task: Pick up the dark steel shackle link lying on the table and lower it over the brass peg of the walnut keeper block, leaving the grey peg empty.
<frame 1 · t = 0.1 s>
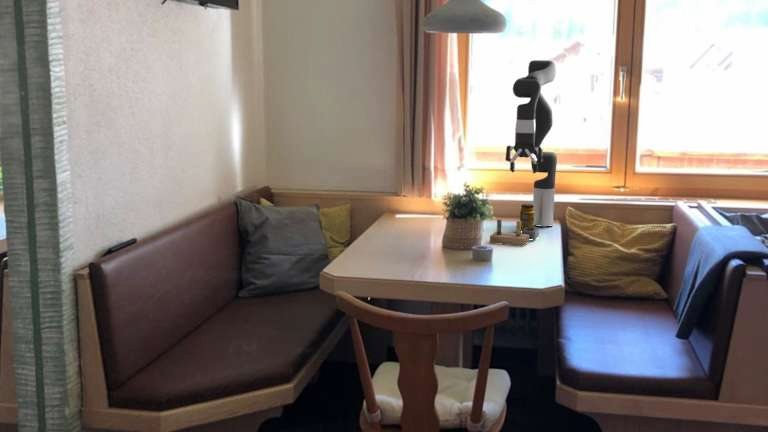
hand: (523, 172, 315), 29 cm above the table, tool pointing down, fingers open, 8 cm apart
link: (530, 238, 333), on the table
condiment: (524, 232, 346), on the table
keeper: (509, 242, 325), on the table
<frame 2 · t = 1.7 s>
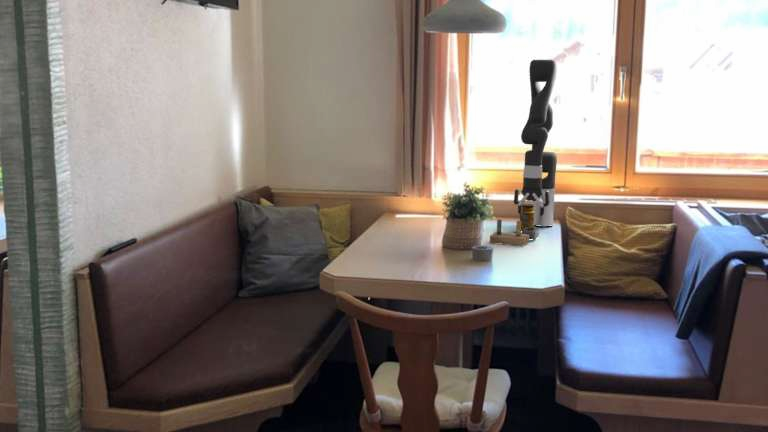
hand: (530, 215, 331), 10 cm above the table, tool pointing down, fingers open, 8 cm apart
nothing on the table moved.
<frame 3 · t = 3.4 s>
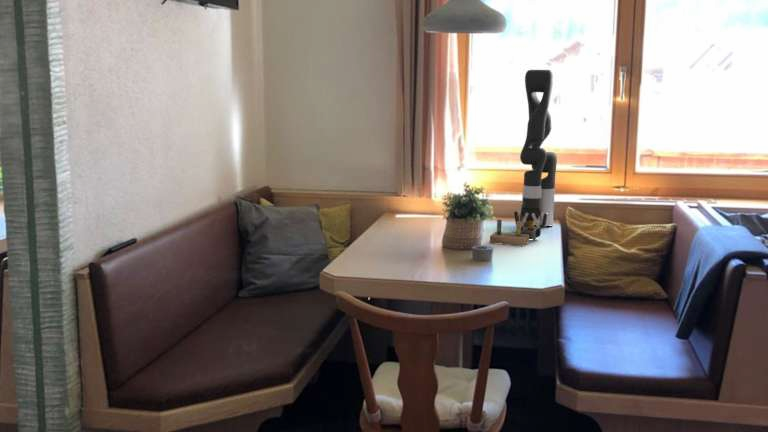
hand: (530, 236, 332), 1 cm above the table, tool pointing down, fingers closed on link, 5 cm apart
link: (530, 238, 333), on the table, touching gripper
everything else where it was.
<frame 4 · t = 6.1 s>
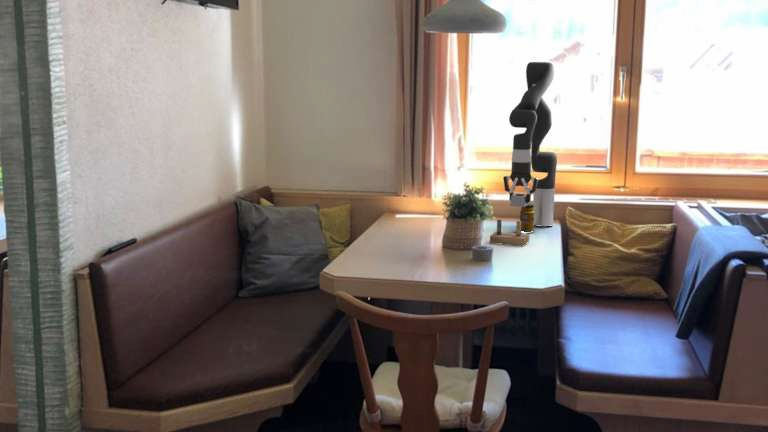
hand: (519, 202, 321), 17 cm above the table, tool pointing down, fingers closed on link, 5 cm apart
link: (519, 205, 321), point 16 cm above the table, touching gripper
everything else where it was.
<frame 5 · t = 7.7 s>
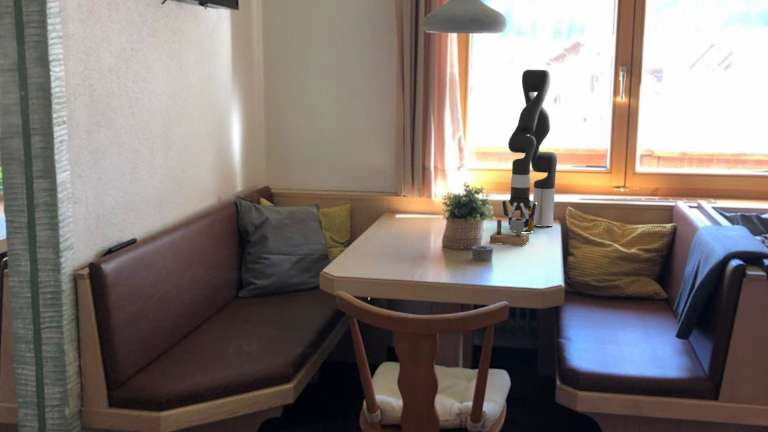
hand: (518, 226, 322), 7 cm above the table, tool pointing down, fingers closed on link, 5 cm apart
link: (518, 229, 322), point 6 cm above the table, touching gripper
everything else where it was.
when the fingers open (6 cm above the table, at t = 8.8 s): link drops 2 cm, resting on keeper.
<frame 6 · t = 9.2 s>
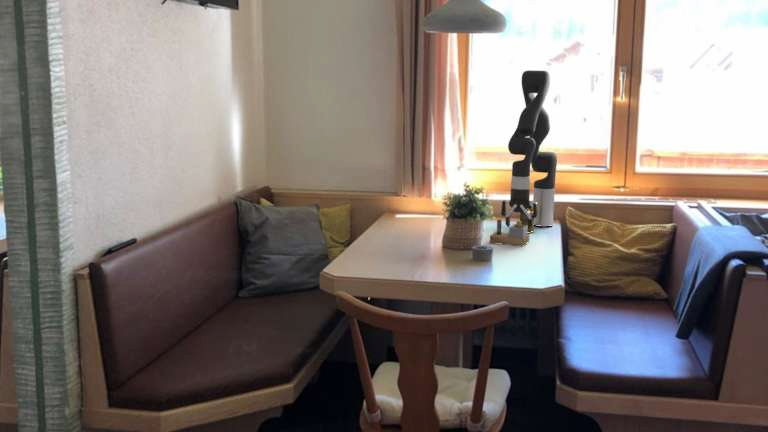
hand: (518, 227, 322), 7 cm above the table, tool pointing down, fingers open, 8 cm apart
link: (518, 235, 323), point 3 cm above the table, touching keeper
everything else where it was.
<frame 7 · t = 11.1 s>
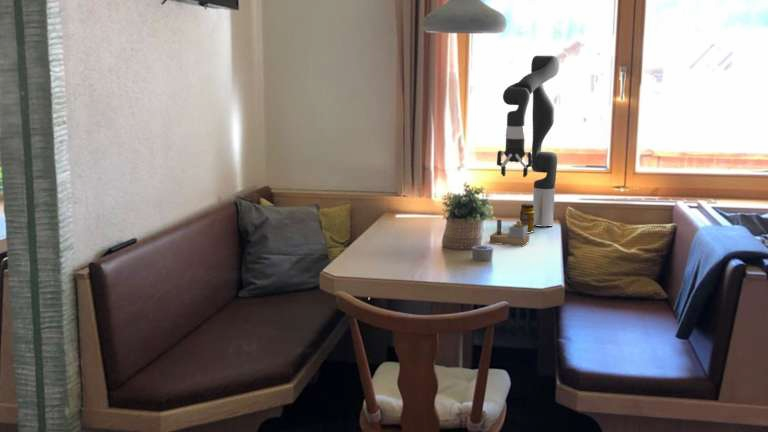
hand: (514, 176, 330), 26 cm above the table, tool pointing down, fingers open, 8 cm apart
nothing on the table moved.
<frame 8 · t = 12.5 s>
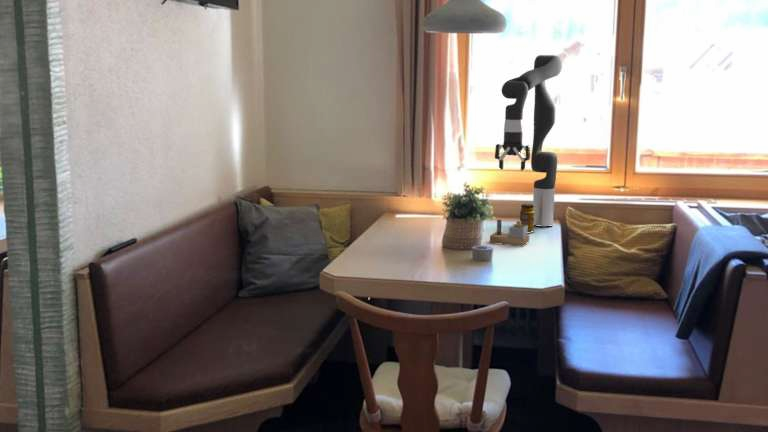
hand: (511, 169, 332), 28 cm above the table, tool pointing down, fingers open, 8 cm apart
nothing on the table moved.
at the end: link 0.0 cm from the target spot on the keeper, point 3.0 cm above the keeper's base; the gripper is holding nothing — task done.
